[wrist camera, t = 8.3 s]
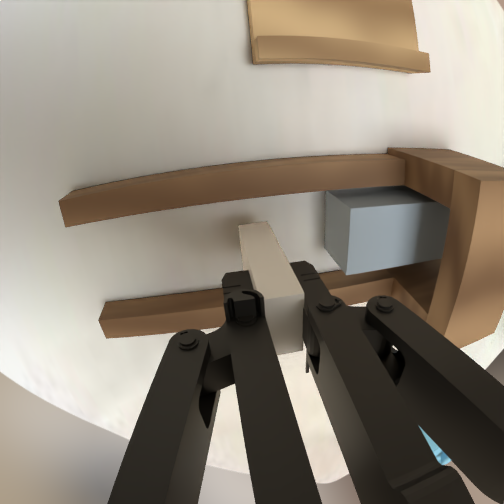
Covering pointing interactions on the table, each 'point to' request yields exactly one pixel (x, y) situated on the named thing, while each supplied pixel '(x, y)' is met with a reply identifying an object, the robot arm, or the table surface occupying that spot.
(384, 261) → the block
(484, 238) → the brown wooden forked piece
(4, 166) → the table surface
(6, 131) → the table surface
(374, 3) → the tan tray
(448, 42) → the table surface
